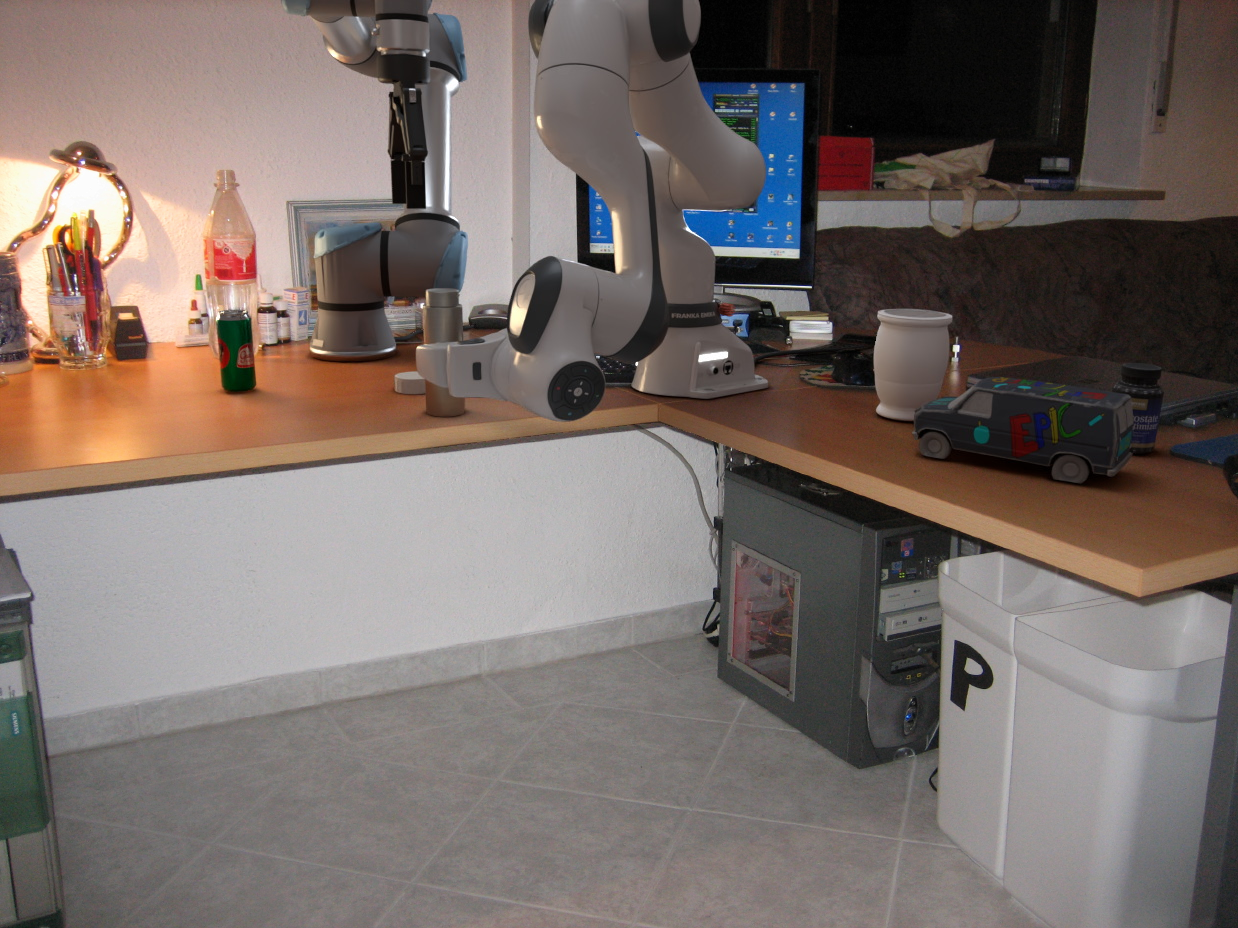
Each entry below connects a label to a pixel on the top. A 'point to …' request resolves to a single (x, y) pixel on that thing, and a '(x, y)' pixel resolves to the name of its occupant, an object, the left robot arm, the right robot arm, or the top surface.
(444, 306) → the metal thermos bottle
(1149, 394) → the pill bottle
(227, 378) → the soda can
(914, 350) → the jar
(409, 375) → the lid
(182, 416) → the top surface
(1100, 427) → the toy van
